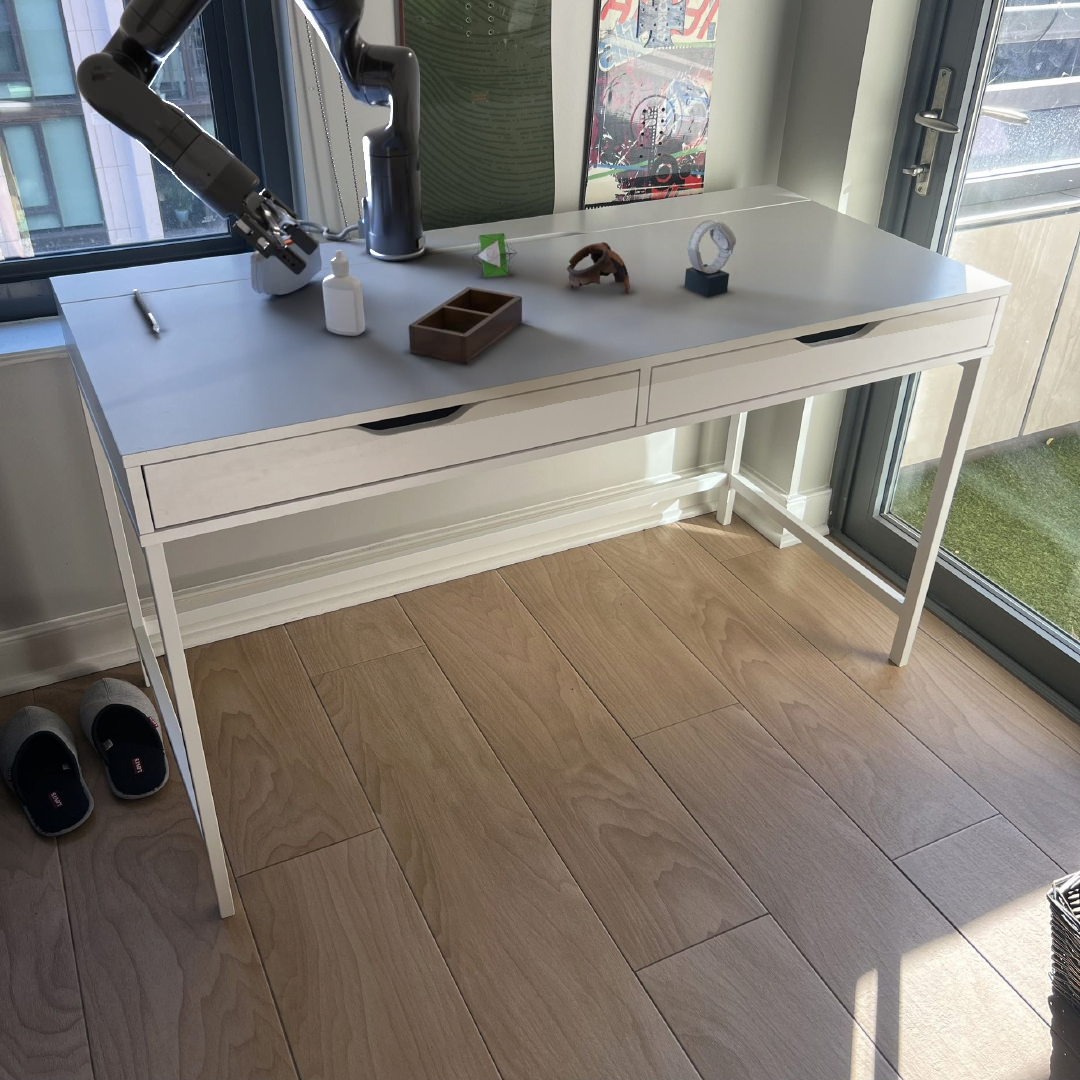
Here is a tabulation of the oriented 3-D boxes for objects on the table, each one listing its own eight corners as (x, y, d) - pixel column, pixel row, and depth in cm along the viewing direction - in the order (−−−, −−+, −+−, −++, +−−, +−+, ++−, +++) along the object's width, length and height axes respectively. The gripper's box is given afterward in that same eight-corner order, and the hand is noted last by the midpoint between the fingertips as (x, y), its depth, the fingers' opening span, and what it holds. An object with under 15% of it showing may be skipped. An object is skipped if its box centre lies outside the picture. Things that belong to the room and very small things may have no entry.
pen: (155, 334, 153) (154, 327, 152) (132, 292, 167) (130, 285, 167) (161, 333, 153) (160, 326, 153) (138, 291, 167) (136, 284, 167)
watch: (736, 290, 172) (744, 222, 166) (699, 299, 168) (705, 230, 162) (712, 280, 176) (719, 213, 170) (675, 289, 172) (681, 221, 166)
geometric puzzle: (465, 253, 179) (472, 223, 172) (504, 249, 181) (512, 220, 174) (475, 289, 177) (482, 261, 170) (514, 285, 179) (523, 257, 171)
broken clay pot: (634, 303, 168) (613, 262, 163) (581, 323, 172) (558, 284, 166) (635, 260, 176) (615, 220, 171) (584, 280, 180) (562, 241, 174)
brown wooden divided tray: (409, 353, 149) (408, 325, 147) (468, 312, 162) (467, 286, 160) (467, 364, 146) (466, 336, 144) (522, 322, 159) (522, 296, 157)
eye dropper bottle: (342, 340, 152) (334, 258, 146) (323, 328, 156) (315, 248, 150) (369, 333, 155) (362, 252, 148) (349, 322, 158) (342, 242, 152)
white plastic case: (312, 273, 176) (307, 225, 172) (326, 277, 175) (321, 228, 170) (251, 300, 165) (244, 249, 161) (266, 303, 164) (259, 253, 160)
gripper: (218, 169, 136) (316, 258, 142) (244, 143, 148) (334, 226, 154) (183, 210, 139) (282, 295, 145) (212, 181, 151) (301, 261, 157)
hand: (308, 259), depth 150 cm, fingers open, 8 cm apart
